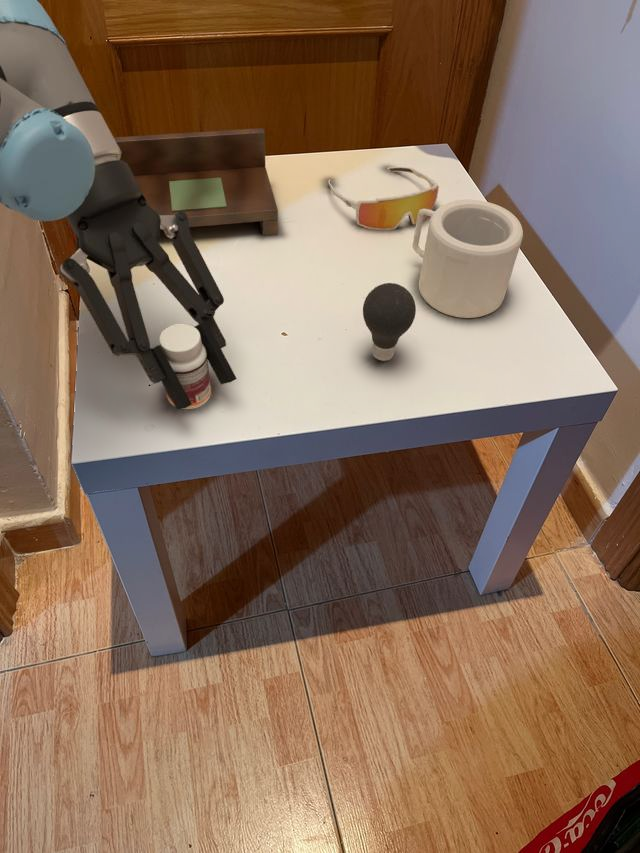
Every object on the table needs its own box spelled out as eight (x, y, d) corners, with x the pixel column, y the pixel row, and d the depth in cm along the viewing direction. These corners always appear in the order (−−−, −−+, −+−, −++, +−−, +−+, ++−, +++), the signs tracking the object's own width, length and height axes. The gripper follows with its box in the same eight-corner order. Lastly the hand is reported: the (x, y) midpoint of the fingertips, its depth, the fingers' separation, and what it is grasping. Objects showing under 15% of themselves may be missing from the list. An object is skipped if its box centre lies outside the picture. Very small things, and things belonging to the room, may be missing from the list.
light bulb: (395, 337, 81) (407, 267, 73) (414, 370, 77) (428, 301, 70) (350, 346, 79) (357, 276, 72) (367, 380, 76) (376, 311, 68)
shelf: (126, 249, 90) (113, 186, 83) (124, 198, 97) (112, 137, 90) (278, 236, 93) (277, 174, 86) (265, 187, 100) (263, 127, 93)
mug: (520, 292, 87) (542, 224, 79) (470, 333, 82) (489, 264, 74) (435, 246, 92) (448, 177, 85) (383, 281, 87) (392, 212, 80)
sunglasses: (360, 241, 92) (361, 206, 89) (316, 198, 102) (315, 164, 99) (451, 220, 96) (455, 185, 93) (399, 180, 106) (401, 147, 103)
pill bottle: (163, 383, 75) (151, 325, 68) (206, 374, 76) (199, 316, 69) (170, 415, 72) (159, 357, 65) (215, 405, 73) (208, 348, 66)
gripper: (157, 160, 72) (260, 359, 77) (-6, 221, 64) (121, 438, 69) (180, 130, 65) (291, 350, 70) (1, 194, 57) (140, 437, 62)
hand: (206, 393), depth 70 cm, fingers closed on pill bottle, 5 cm apart
